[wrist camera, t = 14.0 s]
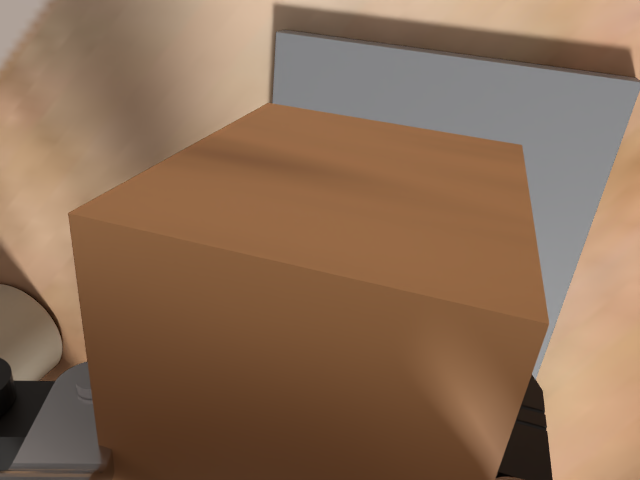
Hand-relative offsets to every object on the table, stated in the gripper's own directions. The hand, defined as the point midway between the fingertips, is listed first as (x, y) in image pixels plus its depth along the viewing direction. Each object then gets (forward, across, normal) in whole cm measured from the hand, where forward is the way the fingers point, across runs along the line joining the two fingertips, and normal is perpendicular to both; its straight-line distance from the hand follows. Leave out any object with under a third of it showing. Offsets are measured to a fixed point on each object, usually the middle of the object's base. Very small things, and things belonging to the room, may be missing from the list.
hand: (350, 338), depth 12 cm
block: (+1, 0, -2) cm, 2 cm away
